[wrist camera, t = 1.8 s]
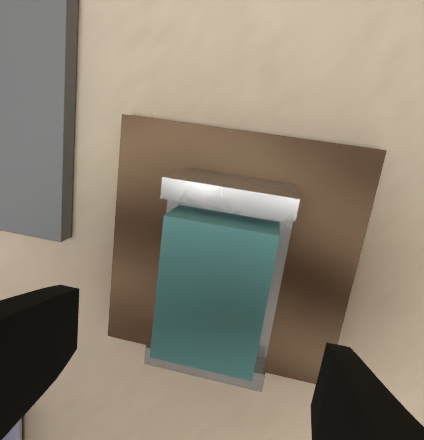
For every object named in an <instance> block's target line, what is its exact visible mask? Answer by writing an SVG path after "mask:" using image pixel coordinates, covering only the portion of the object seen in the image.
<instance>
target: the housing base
mask: <svg viewBox="0 0 424 440" xmlns="http://www.w3.org/2000/svg"><path fill="white" fill-rule="evenodd" d="M160 198H161V199H167V210H166V214H167V213H168V212H170V211H171V210H172V209H174V208H175V207H177V206H178V205H184V206H190V207H196V208H202V209H208V210H213V211H219V212H225V213H231V214H237V215H243V216H248V217H254V218H260V219H266V220H272V221H278V222H280V237H279V243H278V248H277V253H276V258H275V264H274V269H273V274H272V280H271V285H270V290H269V295H268V301H267V306H266V311H265V316H264V322H263V327H262V332H261V337H260V343H259V348H258V353H257V358H256V364H255V369H254V374H253V379H252V381H248V380H244V379H239V378H235V377H231V376H227V375H222V374H218V373H214V372H210V371H206V370H201V369H197V368H193V367H189V366H184V365H180V364H176V363H172V362H168V361H163V360H159V359H155V358H151V357H150V348H151V340H150V341H149V343H148V345H147V346H146V350H145V361H144V364H148V365H152V366H156V367H160V368H164V369H168V370H173V371H177V372H181V373H185V374H189V375H193V376H198V377H202V378H206V379H210V380H214V381H218V382H222V383H227V384H231V385H235V386H239V387H243V388H247V389H252V390H256V391H260V392H262V387H263V382H264V377H265V364H266V356H267V351H268V346H269V341H270V336H271V331H272V326H273V321H274V316H275V311H276V305H277V300H278V295H279V290H280V285H281V280H282V275H283V270H284V265H285V260H286V255H287V250H288V245H289V240H290V235H291V230H292V225H293V221H296V217H297V212H298V207H299V202H300V198H299V195H298V192H297V189H296V186H295V184H292V183H286V182H279V181H273V180H266V179H260V178H253V177H247V176H240V175H234V174H228V173H221V172H215V171H208V170H202V169H195V168H189V167H188V168H186V169H183V170H180V171H177V172H175V173H172V174H169V175H167V176H164V177H162V184H161V195H160Z"/></svg>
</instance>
